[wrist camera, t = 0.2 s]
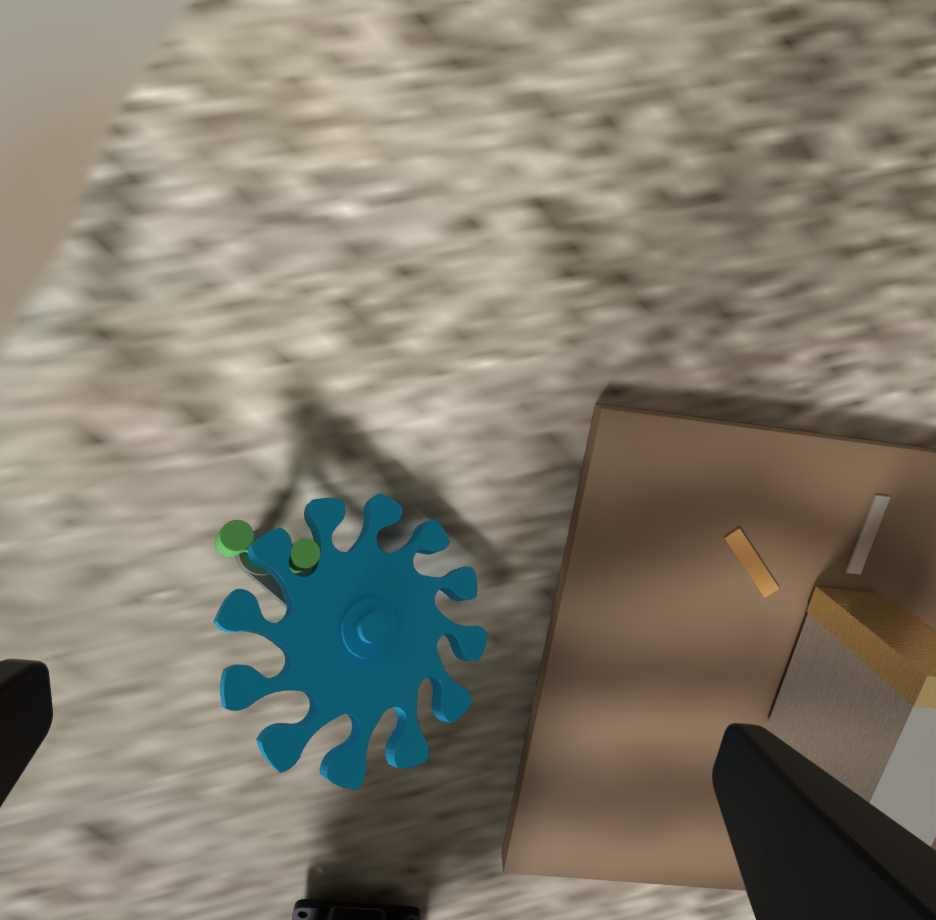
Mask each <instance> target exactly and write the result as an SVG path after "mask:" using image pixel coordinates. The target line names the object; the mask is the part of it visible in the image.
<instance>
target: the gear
mask: <svg viewBox="0 0 936 920" xmlns="http://www.w3.org/2000/svg"><path fill="white" fill-rule="evenodd" d="M401 515H402V506H401V505H400V504H399V503H397V502H396V501H395V500H393V499H391V498H389V497H387V496H385V495H383V494H380V493H379V494H377V495H376V496H374V497H372V498H371V499H369V500H368V501H367V502H366V504H365V506H364V522H363V527H362V531H361V533H360V536H359V538H358V539H357V541H356V542H355V544H354V545H353V546H352V547H351V548H350V550H349V551H348V552H341V551H339V550H337V549H336V548H335V547H334V545H333V543H332V533H333V531H334V530H335V528H336V527H337V526H338V525H339V524H340V523H341V521H342V520H343V519H344V516H345V505H344V503H343V501H342V500H339V499H334V498H321V499H314V500H312V501H311V502H310V503H308V504H307V505H306V507H305V511H304V518H305V521H306V523H307V524H308V526H309V527H310V530H311V532H312V535H313V539H314V541H313V540H310V539H301V540H299V541H297V542H296V543H294V544H292V542H291V538H290V536H289V534H288V533H287V532H286V531H285V530H284V529H282V528H278V529H274V530H272V531H271V530H266V529H260V530H256V531H253V530H252V528H251V526H250V525H249V524H248V523H246V522H244V521H242V520H233V521H230V522H228V523H226V524H225V525H224V526H223V528H222V529H221V530H220V532H219V533H218V534H217V536H216V538H215V547H216V550H217V551H218V552H219V553H220V554H221V555H223V556H227V557H233V556H236V560H237V563H238V566H239V568H240V570H242V571H243V572H245V573H246V574H247V575H248V576H249V577H251V578H252V579H253V580H254V581H255V582H256V583H258V584H259V585H260V586H261V587H262V588H264V589H265V590H266V591H267V592H268V593H270V594H271V595H272V596H273V597H274V598H275V599H277V600H278V601H279V602H280V603H281V604H283V605H284V606H285V607H286V608H287V611H286V614H285V616H284V617H283V618H282V620H280V621H279V622H277V623H271V622H269V621H267V620H266V619H265V618H264V617H263V615H262V613H261V610H260V607H259V604H258V601H257V599H256V598H255V596H254V595H253V594H252V593H250V592H249V591H247V590H243V589H236V590H234V591H232V592H231V593H230V594H229V595H228V596H227V597H226V599H225V600H224V601H223V603H222V605H221V607H220V608H219V610H218V612H217V615H216V617H215V620H214V624H215V625H216V627H218V628H219V629H220V630H222V631H225V632H239V631H242V632H251V633H256V634H259V635H261V636H263V637H265V638H267V639H268V640H270V641H271V642H273V643H274V644H275V645H276V646H278V647H279V648H280V649H281V650H282V651H283V653H284V655H285V665H284V667H283V669H282V671H281V672H280V673H279V674H278V675H276V676H275V677H272V678H266V677H264V676H263V675H262V674H260V673H259V672H258V671H257V670H255V669H254V668H252V667H251V666H247V665H232V666H229V667H227V668H225V669H224V670H223V672H222V676H221V682H220V695H221V702H222V707H224V708H226V709H229V710H233V711H238V710H243V709H245V708H247V707H249V706H250V705H252V704H253V703H254V702H255V701H257V700H259V699H260V698H262V697H264V696H266V695H269V694H271V693H274V692H279V691H288V690H294V691H302V692H304V693H305V694H306V695H307V696H308V698H309V701H310V707H309V711H308V714H307V715H306V717H305V718H304V719H303V720H301V721H300V722H298V723H294V724H287V723H275V724H272V725H270V726H268V727H266V728H265V729H264V730H262V732H261V733H260V734H259V736H258V737H257V739H256V740H257V744H258V747H259V749H260V751H261V753H262V755H263V756H264V757H265V759H266V760H267V761H268V762H269V763H270V765H271V766H272V767H273V768H274V769H275V770H277V771H278V772H279V773H281V772H285V771H287V770H289V769H290V768H292V767H293V766H294V765H295V764H296V762H297V761H298V759H299V758H300V755H301V753H302V751H303V749H304V747H305V746H306V744H307V743H308V741H309V740H310V738H311V737H312V736H313V735H314V734H315V733H316V732H317V731H318V730H319V729H320V728H321V727H322V726H324V725H325V724H327V723H328V722H330V721H332V720H333V719H335V718H337V717H339V716H341V715H343V714H347V715H348V716H349V717H350V718H351V721H352V731H351V734H350V736H349V738H348V739H347V740H346V741H345V742H343V743H342V744H340V745H338V746H337V747H335V748H333V749H332V750H330V751H329V752H328V753H327V754H326V755H325V757H324V758H323V760H322V763H321V766H320V774H321V775H322V776H323V777H324V778H325V779H327V780H329V781H330V782H332V783H334V784H336V785H338V786H340V787H343V788H347V789H352V790H357V789H358V788H359V787H360V786H361V784H362V782H363V781H364V778H365V775H366V752H367V747H368V742H369V739H370V737H371V734H372V732H373V730H374V728H375V726H376V724H377V723H378V721H379V720H380V718H381V716H382V715H383V713H384V712H385V711H386V710H387V709H389V708H391V707H392V708H394V710H395V711H396V713H397V717H398V722H397V726H396V728H395V730H394V732H393V733H392V735H391V736H390V738H389V740H388V742H387V744H386V749H385V757H386V760H387V762H388V764H389V765H391V766H394V767H396V768H401V769H406V768H411V767H414V766H417V765H420V764H422V763H424V762H426V761H427V758H428V753H429V749H428V744H427V741H426V739H425V738H424V736H423V734H422V732H421V730H420V727H419V724H418V720H417V711H416V708H417V695H418V688H419V685H420V683H421V682H422V680H423V679H425V678H426V677H427V678H428V679H429V680H430V681H431V683H432V686H433V694H432V710H433V713H434V715H435V716H436V718H438V719H439V720H441V721H444V722H449V723H453V722H455V721H457V720H458V719H459V718H460V717H461V716H462V715H463V714H464V713H465V712H466V711H467V709H468V708H469V707H470V705H471V704H472V698H471V695H470V693H469V692H468V690H467V689H466V688H464V687H462V686H460V685H458V684H457V683H456V682H454V681H453V680H452V679H451V678H450V677H449V675H448V674H447V672H446V671H445V669H444V667H443V665H442V663H441V660H440V657H439V655H438V651H437V642H438V640H439V638H440V637H441V636H442V635H445V636H446V637H447V638H448V640H449V642H450V645H451V648H452V651H453V653H454V654H455V656H456V657H457V658H458V659H460V660H464V661H479V659H480V657H481V656H482V653H483V651H484V648H485V644H486V639H487V632H486V631H485V630H484V629H483V628H482V627H479V626H461V625H458V624H456V623H454V622H452V621H450V620H449V619H448V618H446V617H445V616H444V615H443V614H442V613H441V612H440V611H439V610H438V609H437V608H436V605H435V595H436V593H437V591H438V590H441V591H443V592H444V593H445V594H446V595H447V596H448V597H449V598H451V599H452V600H454V601H464V600H470V599H473V598H475V597H476V596H477V580H476V575H475V571H474V569H473V568H471V567H462V568H458V569H454V570H452V571H450V572H449V573H448V574H446V575H445V576H443V577H430V576H424V575H421V574H419V573H418V572H417V571H416V570H415V568H414V565H413V558H414V555H415V554H416V552H418V553H422V554H433V553H436V552H439V551H442V550H444V549H445V548H446V547H447V546H448V545H449V538H448V536H447V534H446V532H445V530H444V529H443V527H442V526H441V525H440V523H439V522H438V521H437V520H436V519H432V520H429V521H427V522H425V523H422V524H420V525H419V526H417V528H416V529H415V531H414V533H413V535H412V537H411V538H410V540H409V541H408V542H407V543H406V544H405V545H404V546H403V547H402V548H400V549H399V550H397V551H395V552H392V553H387V552H384V551H382V550H381V549H380V548H379V546H378V544H377V541H376V537H377V533H378V532H379V530H380V529H383V528H385V527H388V526H390V525H392V524H394V523H396V522H397V521H398V520H399V519H400V517H401Z"/></svg>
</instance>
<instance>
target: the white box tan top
mask: <svg viewBox="0 0 936 920" xmlns="http://www.w3.org/2000/svg"><path fill="white" fill-rule="evenodd" d="M807 612H808V615H807V618H806V620H805V623H804V626H803V629H802V631H801V634H800V637H799V640H798V642H797V645H796V648H795V651H794V653H793V656H792V659H791V662H790V664H789V667H788V670H787V673H786V675H785V678H784V681H783V684H782V686H781V689H780V692H779V695H778V697H777V700H776V703H775V706H774V708H773V711H772V714H771V717H770V719H769V722H768V725H767V727H766V728H767V730H768V731H770V732H771V733H773V734H774V735H775V736H777V737H778V738H779V739H781V740H782V741H784V742H785V743H786V744H788V745H789V746H791V747H792V748H793V749H795V750H796V751H798V752H799V753H800V754H802V755H803V756H805V757H806V758H807V759H809V760H810V761H812V762H813V763H814V764H816V765H817V766H819V767H820V768H821V769H823V770H824V771H826V772H827V773H828V774H830V775H831V776H833V777H834V778H835V779H837V780H838V781H840V782H841V783H842V784H844V785H845V786H847V787H848V788H849V789H851V790H852V791H854V792H855V793H856V794H858V795H859V796H861V797H862V798H863V799H865V800H866V801H868V802H869V803H870V804H872V805H873V806H875V807H876V808H877V809H879V810H880V811H882V812H883V813H884V814H886V815H887V816H889V817H890V818H891V819H893V820H894V821H896V822H897V823H898V824H900V825H901V826H903V827H904V828H905V829H907V830H908V831H910V832H911V833H912V834H914V835H915V836H917V837H918V838H919V839H921V840H922V841H924V842H925V843H926V844H928V845H929V846H931V845H932V843H933V841H934V839H935V837H936V629H935V628H933V627H932V626H930V625H929V624H927V623H926V622H924V621H923V620H922V619H920V618H919V617H917V616H916V615H914V614H913V613H912V612H910V611H909V610H907V609H906V608H904V607H903V606H901V605H900V604H899V603H897V602H896V601H894V600H893V599H891V598H890V597H888V596H887V595H886V594H879V593H870V592H861V591H852V590H843V589H835V588H826V587H817V586H816V587H815V590H814V592H813V595H812V598H811V601H810V603H809V606H808V609H807Z"/></svg>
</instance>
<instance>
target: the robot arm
mask: <svg viewBox="0 0 936 920" xmlns="http://www.w3.org/2000/svg"><path fill="white" fill-rule="evenodd" d="M52 718H53V707H52V697H51V688H50V678H49V671H48V668H47V666H46V665H45V663H43V662H41V661H36V660H24V659H6V660H3V661H0V807H1V806H2V804H3V803H4V801H5V799H6V798H7V796H8V795H9V793H10V792H11V790H12V788H13V787H14V785H15V784H16V782H17V781H18V779H19V778H20V776H21V774H22V773H23V771H24V770H25V768H26V767H27V765H28V763H29V762H30V760H31V759H32V757H33V756H34V754H35V753H36V751H37V749H38V748H39V746H40V745H41V743H42V742H43V740H44V738H45V737H46V735H47V733H48V731H49V729H50V726H51V723H52ZM712 783H713V788H714V792H715V795H716V798H717V801H718V804H719V807H720V811H721V814H722V817H723V820H724V823H725V826H726V829H727V832H728V836H729V839H730V842H731V845H732V848H733V851H734V854H735V857H736V861H737V864H738V867H739V870H740V873H741V876H742V879H743V882H744V886H745V889H746V892H747V895H748V898H749V901H750V904H751V906H752V909H753V912H754V915H755V918H756V920H936V850H935V849H933V848H932V847H931V846H929V845H928V844H926V843H925V842H924V841H922V840H921V839H919V838H918V837H917V836H915V835H914V834H912V833H911V832H910V831H908V830H907V829H905V828H904V827H903V826H901V825H900V824H898V823H897V822H896V821H894V820H893V819H891V818H890V817H889V816H887V815H886V814H884V813H883V812H882V811H880V810H879V809H877V808H876V807H875V806H873V805H872V804H870V803H869V802H868V801H866V800H865V799H863V798H862V797H861V796H859V795H858V794H856V793H855V792H854V791H852V790H851V789H849V788H848V787H847V786H845V785H844V784H842V783H841V782H840V781H838V780H837V779H835V778H834V777H833V776H831V775H830V774H828V773H827V772H826V771H824V770H823V769H821V768H820V767H819V766H817V765H816V764H814V763H813V762H812V761H810V760H809V759H807V758H806V757H805V756H803V755H802V754H800V753H799V752H798V751H796V750H795V749H793V748H792V747H791V746H789V745H788V744H786V743H785V742H784V741H782V740H781V739H779V738H778V737H777V736H775V735H774V734H773V733H771V732H770V731H768V730H767V729H765V728H764V727H762V726H760V725H755V724H744V723H732V724H730V725H729V726H728V727H727V728H726V730H725V732H724V735H723V738H722V741H721V744H720V747H719V750H718V753H717V756H716V759H715V763H714V766H713V770H712ZM292 920H422V911H421V910H420V909H419V908H417V907H412V906H398V905H383V904H369V903H354V902H340V901H325V900H311V899H301V900H298V901H297V902H296V903H295V906H294V910H293V914H292Z"/></svg>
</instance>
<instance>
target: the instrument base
mask: <svg viewBox="0 0 936 920" xmlns="http://www.w3.org/2000/svg"><path fill="white" fill-rule="evenodd" d="M816 586H817V587H826V588H835V589H843V590H852V591H861V592H870V593H879V594H886V595H887V596H888V597H890V598H891V599H893V600H894V601H896V602H897V603H899V604H900V605H901V606H903V607H904V608H906V609H907V610H909V611H910V612H912V613H913V614H914V615H916V616H917V617H919V618H920V619H922V620H923V621H924V622H926V623H927V624H929V625H930V626H932V627H933V628H935V629H936V449H933V448H925V447H918V446H910V445H903V444H895V443H888V442H880V441H873V440H865V439H858V438H850V437H843V436H835V435H828V434H820V433H813V432H805V431H798V430H790V429H783V428H775V427H768V426H760V425H753V424H745V423H738V422H730V421H723V420H715V419H708V418H700V417H693V416H685V415H678V414H670V413H663V412H655V411H648V410H640V409H633V408H625V407H618V406H610V405H603V404H595V408H594V412H593V417H592V422H591V427H590V432H589V436H588V441H587V446H586V451H585V456H584V460H583V465H582V470H581V475H580V480H579V484H578V489H577V494H576V499H575V504H574V508H573V513H572V518H571V523H570V528H569V532H568V537H567V542H566V547H565V552H564V556H563V561H562V566H561V571H560V576H559V580H558V585H557V590H556V595H555V600H554V604H553V609H552V614H551V619H550V623H549V628H548V633H547V638H546V643H545V647H544V652H543V657H542V662H541V667H540V671H539V676H538V681H537V686H536V691H535V695H534V700H533V705H532V710H531V715H530V719H529V724H528V729H527V734H526V739H525V743H524V748H523V753H522V758H521V763H520V767H519V772H518V777H517V782H516V787H515V791H514V796H513V801H512V806H511V811H510V815H509V820H508V825H507V830H506V835H505V839H504V844H503V849H502V863H503V873H515V874H529V875H542V876H556V877H569V878H583V879H596V880H610V881H623V882H637V883H650V884H664V885H677V886H691V887H704V888H718V889H731V890H745V891H746V889H745V886H744V882H743V879H742V876H741V873H740V870H739V867H738V864H737V861H736V857H735V854H734V851H733V848H732V845H731V842H730V839H729V836H728V832H727V829H726V826H725V823H724V820H723V817H722V814H721V811H720V807H719V804H718V801H717V798H716V795H715V792H714V788H713V783H712V770H713V766H714V763H715V759H716V756H717V753H718V750H719V747H720V744H721V741H722V738H723V735H724V732H725V730H726V728H727V727H728V726H729V725H730V724H732V723H744V724H755V725H760V726H762V727H764V728H765V729H767V728H766V727H767V725H768V722H769V719H770V717H771V714H772V711H773V708H774V706H775V703H776V700H777V697H778V695H779V692H780V689H781V686H782V684H783V681H784V678H785V675H786V673H787V670H788V667H789V664H790V662H791V659H792V656H793V653H794V651H795V648H796V645H797V642H798V640H799V637H800V634H801V631H802V629H803V626H804V623H805V620H806V618H807V615H808V612H807V609H808V606H809V603H810V601H811V598H812V595H813V592H814V590H815V587H816ZM931 847H932V848H933V849H935V850H936V837H935V839H934V841H933V843H932V845H931Z"/></svg>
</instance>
